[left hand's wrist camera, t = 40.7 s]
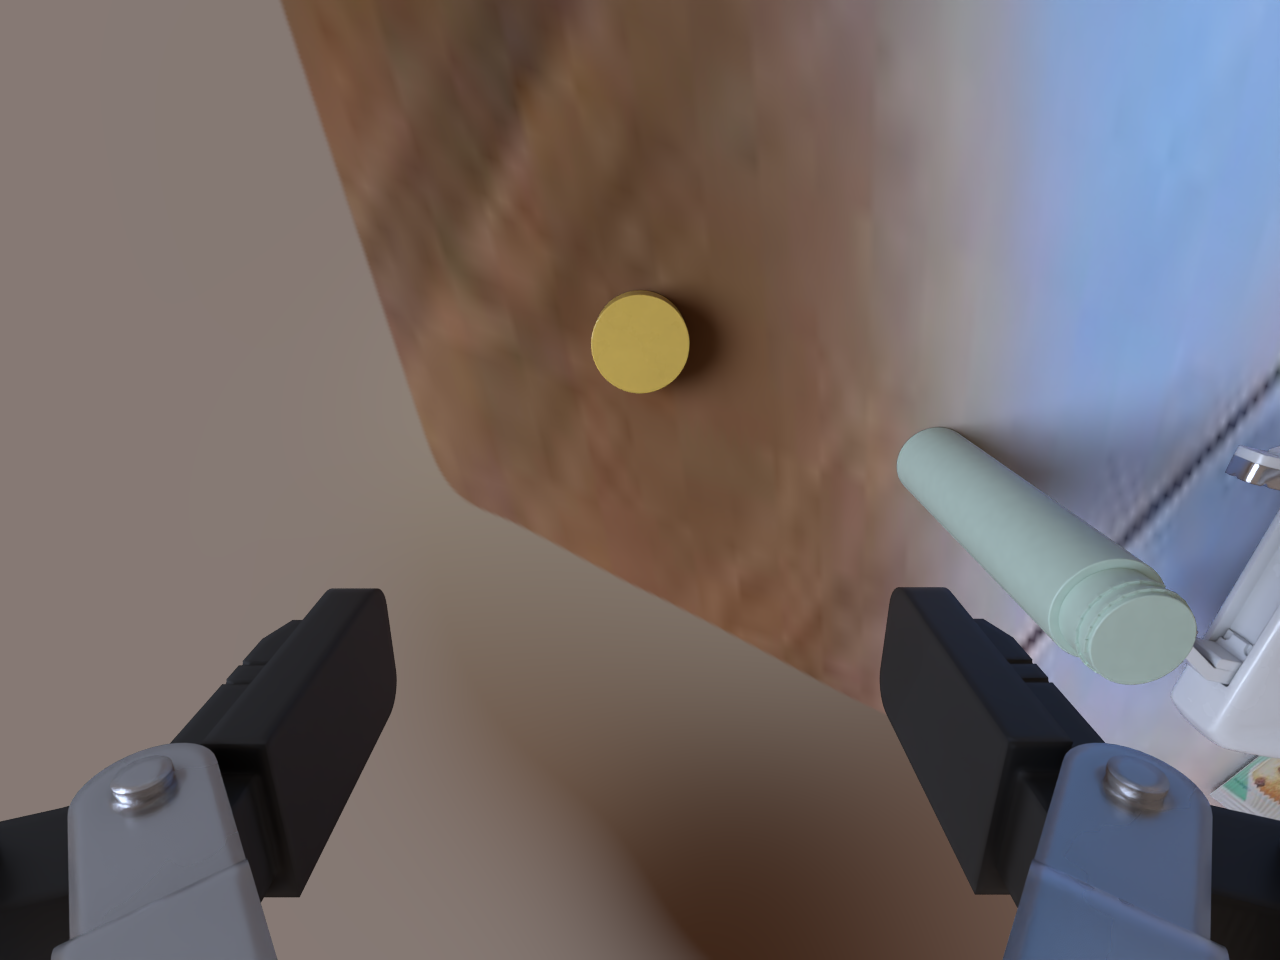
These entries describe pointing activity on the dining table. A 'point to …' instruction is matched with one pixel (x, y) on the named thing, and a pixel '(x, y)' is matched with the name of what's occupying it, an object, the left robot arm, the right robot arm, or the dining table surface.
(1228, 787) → the baking ingredient package
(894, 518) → the dining table surface
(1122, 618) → the mint green cylinder
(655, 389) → the lid
